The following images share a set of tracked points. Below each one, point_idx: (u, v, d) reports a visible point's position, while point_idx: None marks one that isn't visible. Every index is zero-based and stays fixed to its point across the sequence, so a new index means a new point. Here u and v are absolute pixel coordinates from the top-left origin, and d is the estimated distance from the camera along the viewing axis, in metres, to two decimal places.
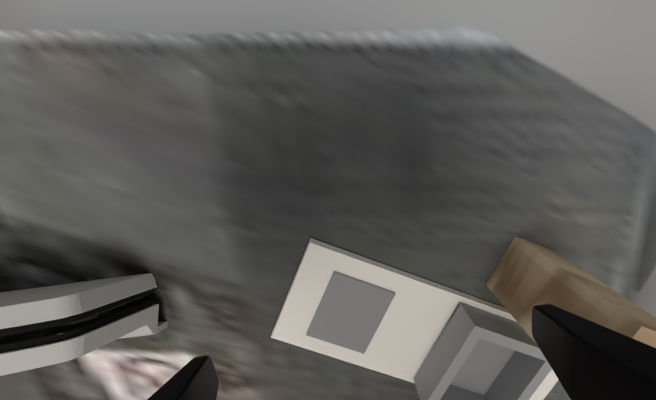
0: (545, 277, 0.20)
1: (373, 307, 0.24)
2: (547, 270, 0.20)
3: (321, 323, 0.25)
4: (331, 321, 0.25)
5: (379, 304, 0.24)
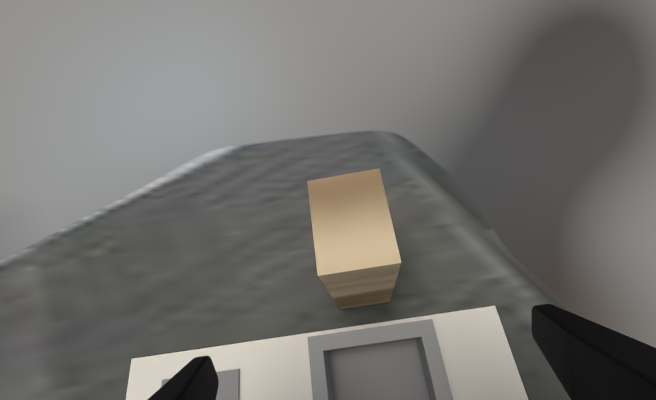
0: None
1: None
2: None
3: None
4: None
5: (226, 394, 0.19)
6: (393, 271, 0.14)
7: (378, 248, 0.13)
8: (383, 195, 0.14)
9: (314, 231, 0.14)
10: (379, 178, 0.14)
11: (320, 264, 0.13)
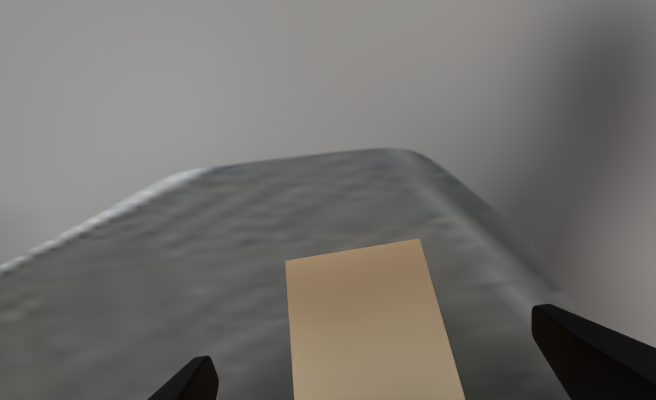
0: None
1: None
2: None
3: None
4: None
5: None
6: None
7: None
8: (432, 297, 0.07)
9: (296, 375, 0.07)
10: (421, 259, 0.08)
11: None
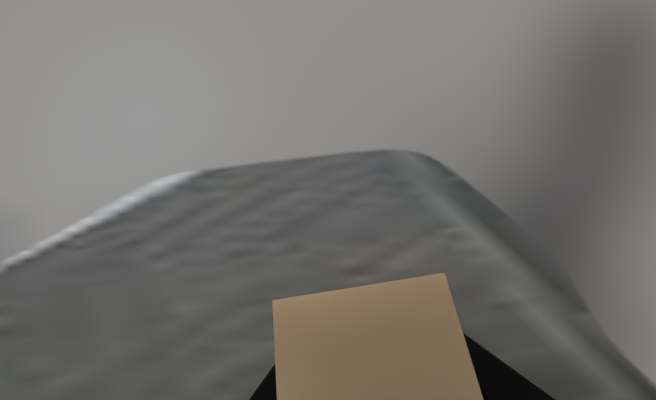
0: None
1: None
2: None
3: None
4: None
5: None
6: None
7: None
8: (464, 354, 0.05)
9: None
10: (448, 301, 0.06)
11: None
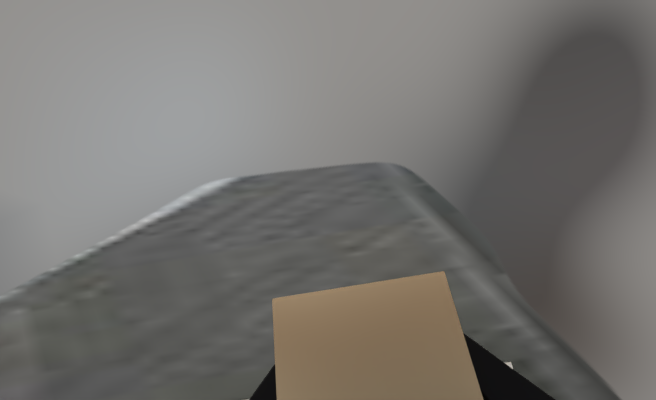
0: None
1: None
2: None
3: None
4: None
5: None
6: None
7: None
8: (463, 352, 0.05)
9: None
10: (447, 299, 0.06)
11: None
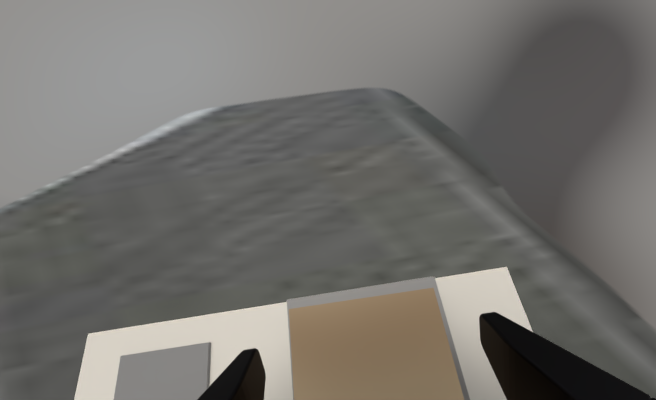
0: None
1: (186, 381, 0.16)
2: None
3: None
4: None
5: (193, 371, 0.16)
6: None
7: None
8: (447, 355, 0.07)
9: None
10: (436, 311, 0.07)
11: None
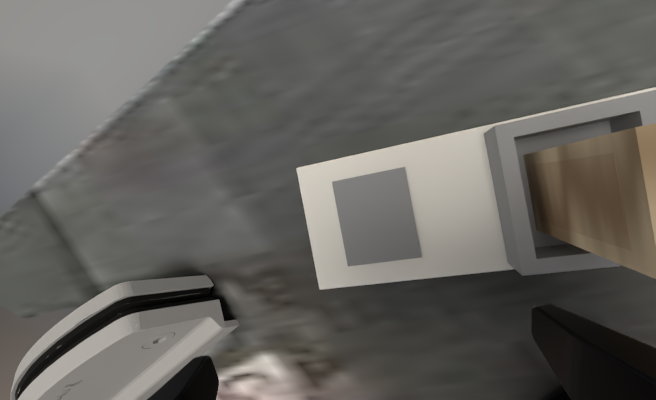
0: (557, 169, 0.14)
1: (392, 195, 0.21)
2: (556, 161, 0.15)
3: (353, 244, 0.22)
4: (362, 236, 0.22)
5: (396, 188, 0.21)
6: None
7: None
8: None
9: (653, 215, 0.09)
10: None
11: None
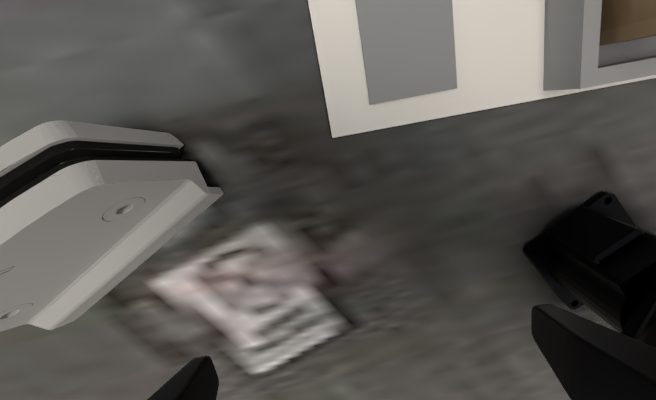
0: None
1: (432, 7, 0.17)
2: None
3: (379, 75, 0.18)
4: (390, 64, 0.18)
5: None
6: None
7: None
8: None
9: None
10: None
11: None
